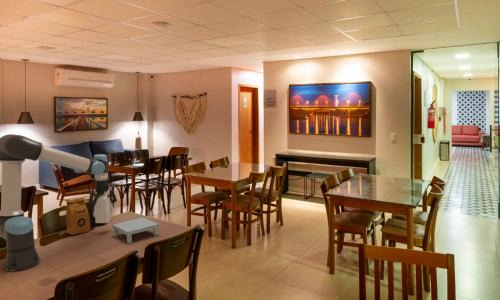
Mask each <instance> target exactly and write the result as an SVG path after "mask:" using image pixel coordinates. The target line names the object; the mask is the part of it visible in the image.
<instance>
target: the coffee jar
mask: <svg viewBox="0 0 500 300" xmlns="http://www.w3.org/2000/svg"><path fill="white" fill-rule="evenodd" d="M94 197H95V196H93V200H94ZM93 200H92V202H93ZM88 207H89V208H88V209H89V220H90V226H91V227H101V226H105V225H106V224H107V223H96V222H95V217H94V216H93V212H92V211H91V206H88Z"/></svg>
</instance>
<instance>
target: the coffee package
mask: <svg viewBox="0 0 500 300" xmlns="http://www.w3.org/2000/svg"><path fill="white" fill-rule="evenodd" d="M65 218H66V222H65V223H66V231H67V234H69V235H72V236H73V235H79V234H83V233H87V232H90V230H91V224H90V213H89V211H88V208H87V205H86V201H85V197H79V198H74V199H73V198H72V199H67V200H66V207H65Z"/></svg>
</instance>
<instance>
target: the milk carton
mask: <svg viewBox="0 0 500 300" xmlns="http://www.w3.org/2000/svg"><path fill="white" fill-rule="evenodd" d="M108 193H109V191H108V192H104V194H103V195H100V196H99V197H98V199H97V202H96V204H95V206H96V217H95V222H96V223H106V224H107V223H109V222H111V221H112V214H111V200H110V197H108V196H107V195H110V193H109V194H108Z"/></svg>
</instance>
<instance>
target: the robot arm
mask: <svg viewBox="0 0 500 300" xmlns="http://www.w3.org/2000/svg"><path fill="white" fill-rule="evenodd" d="M26 160H29V161H35V162H36V161H38V160H39V161H43V162H46V163H50V164H53V165H56V166H57V165H58V166H61V167H65V168H67V169H68V168H69V169H71V170H73V171H74V172H75V173H76V174H82V173H84V174H90V175H94V180H95V181H94V186H95V188H94V189H90V190H89V197H88V203H87V206H88V207H89V206H91V211H92V212H93V216H94V217H96V206H95V204H96V202H97V199H98V197H99V196H100V195H103V194H104V192H108V194H109V195H107V196H108V197H110V200H111V215H112V214H114V208H115V203H116V202H118V199H117V196H116V193H115V190H114V188H115V187H113V186H109V173H108V163H109V162H108V156H107V154H103V153H102V154H94V155H93V158H86V157H83V156H80V155H76V154H73V153H69V152H67V151H64V150H60V149H56V148H53V147H50V146H46V145H44V144H43V142H40V141H37V140H34V139H31V138H29V137H27V136H24V135H20V134H14V133H10V134H5V135H3V136H1V137H0V163H1V189H0V190H1V193H0V194H1V195H0V196H1V197H0V200H1V202H0V203H1V204H0V238H2V239H4V240H5V241H6V243H5V244H6V252H7V253H6V256H5V260H4V263H3V268H5V269H8V270H20V271H22V270H21V269H25V270H27V269H26V268H29V269H31V268H34V267H35V265H36V266H38V265H39V264H40V263H41V262H40V261H41V258H40V255H39V253H38V251H37V249H36V247H35V245H36V244H35V234H34V222H33V219H32V218H31V217H29V216H25V211H23V210H22V205H21V204H22V165H23V164H24V162H26ZM109 192H110V193H109ZM110 194H111V195H110ZM93 197H94V200H93ZM92 200H93V202H92ZM39 262H40V263H39ZM38 263H39V264H38ZM33 266H34V267H33ZM30 267H31V268H30ZM5 269H4V270H5Z"/></svg>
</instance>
